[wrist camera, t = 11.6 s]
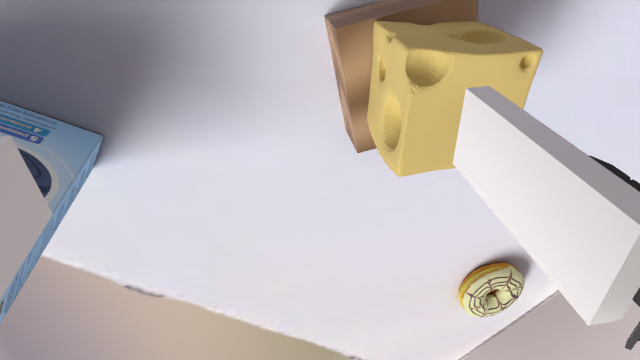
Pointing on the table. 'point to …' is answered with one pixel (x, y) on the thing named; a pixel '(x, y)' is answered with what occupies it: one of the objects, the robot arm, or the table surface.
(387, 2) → the walnut block
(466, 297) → the decorated donut
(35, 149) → the gum box
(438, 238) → the table surface
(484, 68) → the cheese
